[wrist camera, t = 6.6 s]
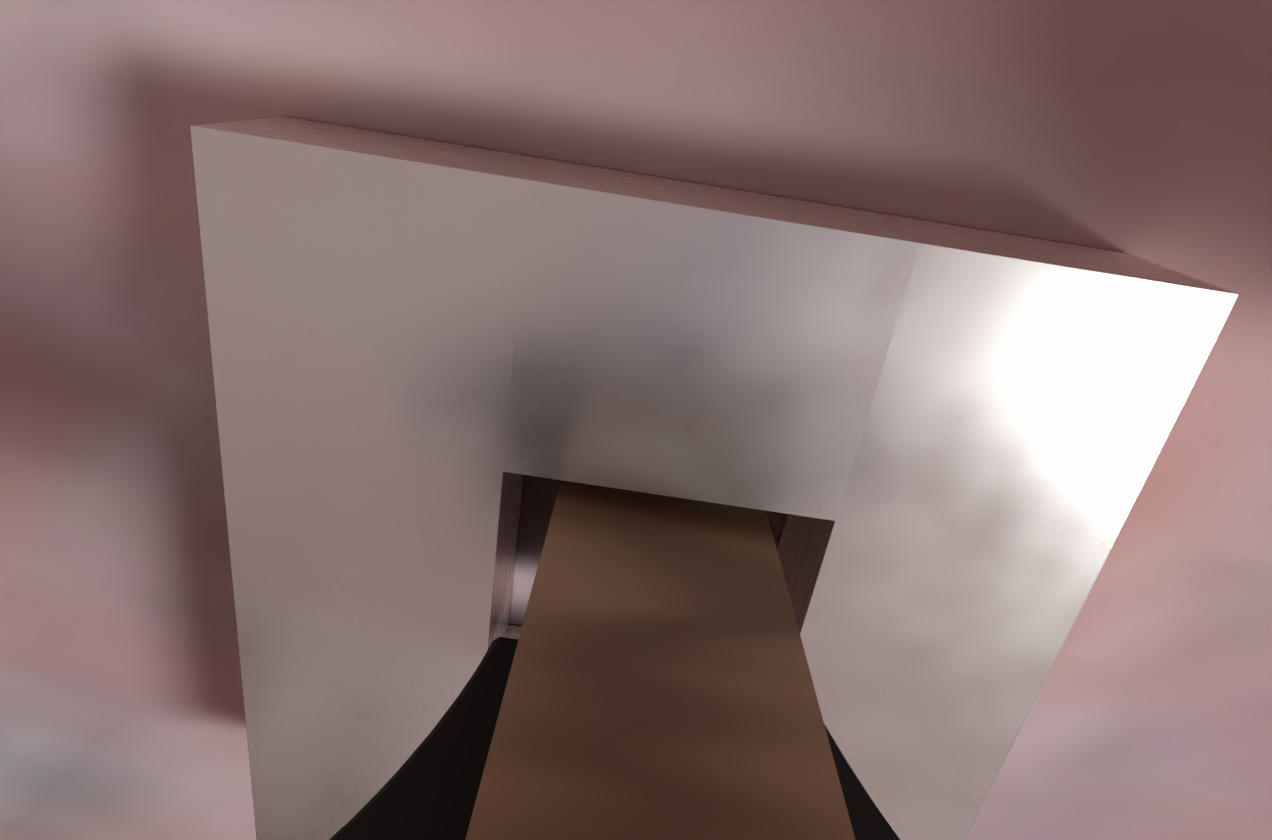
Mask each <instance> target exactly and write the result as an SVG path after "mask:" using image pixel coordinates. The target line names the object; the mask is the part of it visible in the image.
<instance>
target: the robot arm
mask: <svg viewBox="0 0 1272 840" xmlns="http://www.w3.org/2000/svg"><path fill="white" fill-rule="evenodd" d="M518 640H519V639H512V638H505V637H498V638H497V639H495V640H493V641H492V643H491V645H490V647H489V649H488V651H487V652H486V654H485V656H484V657H483V659H482V661H481V663H480V664H479V666H478V667H477V669H476V671H475V672H474V674H473V675H472V677H471V678H470V680H469V681H468V683H467V684H466V685H465V687H464V688H463V690H462V691H461V693H460V694H459V696H458V697H457V698H456V700H455V701H454V702H453V704H452V705H451V706H450V708H449V709H448V710H447V711H446V713H445V714H444V715H443V717H442V718H441V719H440V721H439V722H438V723H437V725H436V726H435V727H434V729H433V730H432V731H431V732H430V734H429V735H428V736H427V737H426V738H425V740H424V741H423V742H422V743H421V744H420V745H419V747H418V748H417V749H416V750H415V751H414V752H413V754H412V755H411V756H410V757H409V758H408V759H407V761H406V762H405V763H404V764H403V765H402V766H401V768H400V769H399V770H398V771H397V772H396V773H395V774H394V775H393V776H392V778H391V779H390V780H389V781H388V782H387V783H386V784H385V785H384V786H383V787H382V788H381V789H380V790H379V791H378V793H377V794H376V795H375V796H374V797H373V798H372V799H371V800H370V801H369V802H368V803H367V804H366V805H365V806H364V807H363V808H362V809H361V810H360V811H359V812H358V813H357V814H356V815H355V816H354V817H353V818H352V819H351V820H350V821H349V822H348V823H347V824H345V825H344V826H343V827H342V828H341V829H340V830H339V831H338V832H337V833H336V834H335V835H334V836H332V837H331V838H330V839H329V840H465V839H466V835H467V832H468V828H469V824H470V820H471V817H472V813H473V809H474V805H475V802H476V798H477V794H478V790H479V786H480V783H481V779H482V775H483V771H484V768H485V764H486V760H487V756H488V753H489V749H490V745H491V741H492V738H493V734H494V730H495V726H496V722H497V719H498V715H499V711H500V707H501V704H502V700H503V696H504V692H505V689H506V685H507V681H508V677H509V674H510V670H511V666H512V662H513V658H514V655H515V651H516V647H517V643H518ZM824 725H825V724H824ZM825 729H826V733H827V736H828V740H829V744H830V747H831V751H832V755H833V759H834V762H835V766H836V770H837V773H838V777H839V781H840V784H841V788H842V792H843V796H844V799H845V803H846V807H847V810H848V814H849V818H850V822H851V825H852V829H853V833H854V836H855V840H900V839H899V837H898V836H897V834H896V833H895V832H894V830H893V829H892V827H891V826H890V825H889V823H888V822H887V821H886V819H885V818H884V816H883V815H882V813H881V812H880V810H879V809H878V808H877V806H876V805H875V803H874V802H873V800H872V799H871V797H870V796H869V794H868V793H867V791H866V790H865V788H864V787H863V785H862V783H861V782H860V780H859V779H858V777H857V776H856V774H855V773H854V771H853V770H852V768H851V766H850V765H849V763H848V762H847V760H846V759H845V757H844V755H843V754H842V752H841V750H840V749H839V747H838V745H837V744H836V742H835V740H834V739H833V737H832V735H831V734H830V732H829V730H828V729H827V727H826V725H825Z"/></svg>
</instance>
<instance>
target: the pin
mask: <svg viewBox="0 0 1272 840" xmlns="http://www.w3.org/2000/svg"><path fill="white" fill-rule="evenodd" d="M465 840H855V836H854V833H853V829H852V825H851V822H850V818H849V814H848V810H847V807H846V803H845V799H844V796H843V792H842V788H841V784H840V781H839V777H838V773H837V770H836V766H835V762H834V759H833V755H832V751H831V747H830V744H829V740H828V736H827V733H826V729H825V725H824V722H823V718H822V714H821V710H820V707H819V703H818V699H817V696H816V692H815V688H814V684H813V681H812V677H811V673H810V670H809V666H808V662H807V659H806V655H805V651H804V647H803V644H802V640H801V636H800V633H799V629H798V625H797V622H796V618H795V614H794V610H793V607H792V603H791V599H790V596H789V592H788V588H787V584H786V581H785V577H784V573H783V570H782V566H781V562H780V559H779V555H778V551H777V547H776V544H775V540H774V536H773V533H772V529H771V525H770V522H769V518H768V514H767V511H765V510H758V509H752V508H745V507H738V506H731V505H725V504H718V503H711V502H704V501H698V500H691V499H684V498H677V497H671V496H664V495H657V494H651V493H644V492H637V491H630V490H624V489H617V488H610V487H603V486H597V485H590V484H583V483H576V482H570V481H563V480H561V482H560V485H559V489H558V493H557V497H556V500H555V504H554V508H553V512H552V515H551V519H550V523H549V527H548V530H547V534H546V538H545V542H544V546H543V549H542V553H541V557H540V561H539V564H538V568H537V572H536V576H535V579H534V583H533V587H532V591H531V594H530V598H529V602H528V606H527V610H526V613H525V617H524V621H523V625H522V628H521V632H520V636H519V640H518V643H517V647H516V651H515V655H514V658H513V662H512V666H511V670H510V674H509V677H508V681H507V685H506V689H505V692H504V696H503V700H502V704H501V707H500V711H499V715H498V719H497V722H496V726H495V730H494V734H493V738H492V741H491V745H490V749H489V753H488V756H487V760H486V764H485V768H484V771H483V775H482V779H481V783H480V786H479V790H478V794H477V798H476V802H475V805H474V809H473V813H472V817H471V820H470V824H469V828H468V832H467V835H466V839H465Z"/></svg>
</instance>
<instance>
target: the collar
mask: <svg viewBox="0 0 1272 840" xmlns="http://www.w3.org/2000/svg"><path fill="white" fill-rule="evenodd" d="M190 130H191V141H192V152H193V163H194V173H195V184H196V195H197V205H198V216H199V227H200V238H201V248H202V259H203V270H204V280H205V291H206V302H207V313H208V323H209V334H210V345H211V355H212V366H213V377H214V387H215V398H216V409H217V420H218V430H219V441H220V452H221V462H222V473H223V484H224V495H225V505H226V516H227V527H228V537H229V548H230V559H231V570H232V580H233V591H234V602H235V612H236V623H237V634H238V645H239V655H240V666H241V677H242V687H243V698H244V709H245V720H246V730H247V741H248V752H249V762H250V773H251V784H252V795H253V805H254V816H255V827H256V837H257V840H329V839H330V838H331V837H332V836H334V835H335V834H336V833H337V832H338V831H339V830H340V829H341V828H342V827H343V826H344V825H345V824H347V823H348V822H349V821H350V820H351V819H352V818H353V817H354V816H355V815H356V814H357V813H358V812H359V811H360V810H361V809H362V808H363V807H364V806H365V805H366V804H367V803H368V802H369V801H370V800H371V799H372V798H373V797H374V796H375V795H376V794H377V793H378V791H379V790H380V789H381V788H382V787H383V786H384V785H385V784H386V783H387V782H388V781H389V780H390V779H391V778H392V776H393V775H394V774H395V773H396V772H397V771H398V770H399V769H400V768H401V766H402V765H403V764H404V763H405V762H406V761H407V759H408V758H409V757H410V756H411V755H412V754H413V752H414V751H415V750H416V749H417V748H418V747H419V745H420V744H421V743H422V742H423V741H424V740H425V738H426V737H427V736H428V735H429V734H430V732H431V731H432V730H433V729H434V727H435V726H436V725H437V723H438V722H439V721H440V719H441V718H442V717H443V715H444V714H445V713H446V711H447V710H448V709H449V708H450V706H451V705H452V704H453V702H454V701H455V700H456V698H457V697H458V696H459V694H460V693H461V691H462V690H463V688H464V687H465V685H466V684H467V683H468V681H469V680H470V678H471V677H472V675H473V674H474V672H475V671H476V669H477V667H478V666H479V664H480V663H481V661H482V659H483V657H484V656H485V654H486V652H487V651H488V649H489V647H490V645H491V643H492V641H493V640H495V639H497V638H498V637H505V638H512V639H519V636H520V632H521V628H522V626H515V625H508V624H509V614H510V604H511V594H512V584H513V574H514V564H515V554H516V544H517V534H518V524H519V514H520V504H521V494H522V484H523V475H529V476H536V477H543V478H549V479H556V480H563V481H570V482H576V483H583V484H590V485H597V486H603V487H610V488H617V489H624V490H630V491H637V492H644V493H651V494H657V495H664V496H671V497H677V498H684V499H691V500H698V501H704V502H711V503H718V504H725V505H731V506H738V507H745V508H752V509H758V510H765V511H772V512H779V513H785V514H787V517H786V521H785V524H784V528H783V531H782V535H781V539H780V542H779V546H778V549H777V551H778V555H779V559H780V562H781V566H782V570H783V573H784V577H785V581H786V584H787V588H788V592H789V596H790V599H791V603H792V607H793V610H794V614H795V618H796V622H797V625H798V629H799V633H800V636H801V640H802V644H803V647H804V651H805V655H806V659H807V662H808V666H809V670H810V673H811V677H812V681H813V684H814V688H815V692H816V696H817V699H818V703H819V707H820V710H821V714H822V718H823V722H824V724H825V725H826V727H827V729H828V730H829V732H830V734H831V735H832V737H833V739H834V740H835V742H836V744H837V745H838V747H839V749H840V750H841V752H842V754H843V755H844V757H845V759H846V760H847V762H848V763H849V765H850V766H851V768H852V770H853V771H854V773H855V774H856V776H857V777H858V779H859V780H860V782H861V783H862V785H863V787H864V788H865V790H866V791H867V793H868V794H869V796H870V797H871V799H872V800H873V802H874V803H875V805H876V806H877V808H878V809H879V810H880V812H881V813H882V815H883V816H884V818H885V819H886V821H887V822H888V823H889V825H890V826H891V827H892V829H893V830H894V832H895V833H896V834H897V836H898V837H899V839H900V840H965V839H966V837H967V835H968V833H969V831H970V829H971V827H972V825H973V823H974V821H975V819H976V817H977V815H978V813H979V811H980V809H981V807H982V805H983V803H984V801H985V799H986V797H987V795H988V793H989V791H990V789H991V787H992V785H993V783H994V781H995V779H996V777H997V775H998V773H999V771H1000V769H1001V767H1002V765H1003V763H1004V761H1005V759H1006V757H1007V755H1008V753H1009V751H1010V749H1011V747H1012V745H1013V743H1014V741H1015V739H1016V737H1017V735H1018V733H1019V731H1020V729H1021V727H1022V725H1023V723H1024V721H1025V719H1026V717H1027V715H1028V713H1029V711H1030V709H1031V707H1032V705H1033V703H1034V701H1035V699H1036V697H1037V695H1038V693H1039V691H1040V689H1041V687H1042V685H1043V683H1044V681H1045V679H1046V677H1047V675H1048V673H1049V671H1050V669H1051V667H1052V665H1053V663H1054V661H1055V659H1056V658H1057V656H1058V654H1059V652H1060V650H1061V648H1062V646H1063V644H1064V642H1065V640H1066V638H1067V636H1068V634H1069V632H1070V630H1071V628H1072V626H1073V624H1074V622H1075V620H1076V618H1077V616H1078V614H1079V612H1080V610H1081V608H1082V606H1083V604H1084V602H1085V600H1086V598H1087V596H1088V594H1089V592H1090V590H1091V588H1092V586H1093V584H1094V582H1095V580H1096V578H1097V576H1098V574H1099V572H1100V570H1101V568H1102V566H1103V564H1104V562H1105V560H1106V558H1107V556H1108V554H1109V552H1110V550H1111V548H1112V546H1113V544H1114V542H1115V540H1116V538H1117V536H1118V534H1119V532H1120V530H1121V528H1122V526H1123V524H1124V522H1125V520H1126V518H1127V516H1128V514H1129V512H1130V510H1131V508H1132V506H1133V504H1134V502H1135V500H1136V498H1137V496H1138V494H1139V492H1140V490H1141V488H1142V486H1143V484H1144V482H1145V480H1146V478H1147V476H1148V474H1149V472H1150V470H1151V468H1152V466H1153V464H1154V462H1155V460H1156V458H1157V456H1158V454H1159V452H1160V450H1161V448H1162V446H1163V444H1164V442H1165V440H1166V438H1167V436H1168V434H1169V432H1170V430H1171V428H1172V426H1173V424H1174V422H1175V420H1176V418H1177V416H1178V414H1179V412H1180V410H1181V408H1182V406H1183V404H1184V402H1185V400H1186V398H1187V396H1188V395H1189V393H1190V391H1191V389H1192V387H1193V385H1194V383H1195V381H1196V379H1197V377H1198V375H1199V373H1200V371H1201V369H1202V367H1203V365H1204V363H1205V361H1206V359H1207V357H1208V355H1209V353H1210V351H1211V349H1212V347H1213V345H1214V343H1215V341H1216V339H1217V337H1218V335H1219V333H1220V331H1221V329H1222V327H1223V325H1224V323H1225V321H1226V319H1227V317H1228V315H1229V313H1230V311H1231V309H1232V307H1233V305H1234V303H1235V301H1236V299H1237V297H1238V294H1236V293H1233V292H1230V291H1228V290H1225V289H1222V288H1220V287H1217V286H1214V285H1212V284H1209V283H1206V282H1203V281H1201V280H1198V279H1195V278H1193V277H1190V276H1187V275H1185V274H1182V273H1179V272H1177V271H1174V270H1171V269H1169V268H1166V267H1163V266H1160V265H1158V264H1155V263H1152V262H1150V261H1147V260H1144V259H1142V258H1139V257H1136V256H1134V255H1131V254H1128V253H1123V252H1116V251H1110V250H1104V249H1098V248H1092V247H1086V246H1079V245H1073V244H1067V243H1061V242H1055V241H1049V240H1042V239H1036V238H1030V237H1024V236H1018V235H1012V234H1005V233H999V232H993V231H987V230H981V229H975V228H969V227H962V226H956V225H950V224H944V223H938V222H932V221H925V220H919V219H913V218H907V217H901V216H895V215H888V214H882V213H876V212H870V211H864V210H858V209H851V208H845V207H839V206H833V205H827V204H821V203H815V202H808V201H802V200H796V199H790V198H784V197H778V196H771V195H765V194H759V193H753V192H747V191H741V190H734V189H728V188H722V187H716V186H710V185H704V184H697V183H691V182H685V181H679V180H673V179H667V178H661V177H654V176H648V175H642V174H636V173H630V172H624V171H617V170H611V169H605V168H599V167H593V166H587V165H580V164H574V163H568V162H562V161H556V160H550V159H543V158H537V157H531V156H525V155H519V154H513V153H507V152H500V151H494V150H488V149H482V148H476V147H470V146H463V145H457V144H451V143H445V142H439V141H433V140H426V139H420V138H414V137H408V136H402V135H396V134H389V133H383V132H377V131H371V130H365V129H359V128H352V127H346V126H340V125H334V124H328V123H322V122H316V121H309V120H303V119H297V118H291V117H285V116H284V117H274V118H263V119H253V120H242V121H232V122H221V123H211V124H200V125H190Z"/></svg>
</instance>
